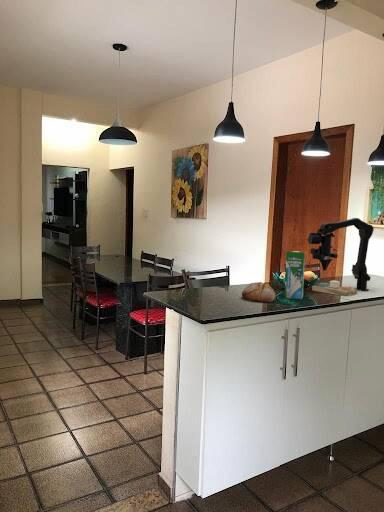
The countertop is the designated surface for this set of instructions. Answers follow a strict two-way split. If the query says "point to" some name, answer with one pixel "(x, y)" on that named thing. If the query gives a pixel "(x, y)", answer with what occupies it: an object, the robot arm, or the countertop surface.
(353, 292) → the wooden cutting board
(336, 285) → the key ivory
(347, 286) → the key terracotta
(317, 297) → the countertop surface
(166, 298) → the countertop surface
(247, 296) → the bread
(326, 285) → the key teal
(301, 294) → the milk carton
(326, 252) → the robot arm
